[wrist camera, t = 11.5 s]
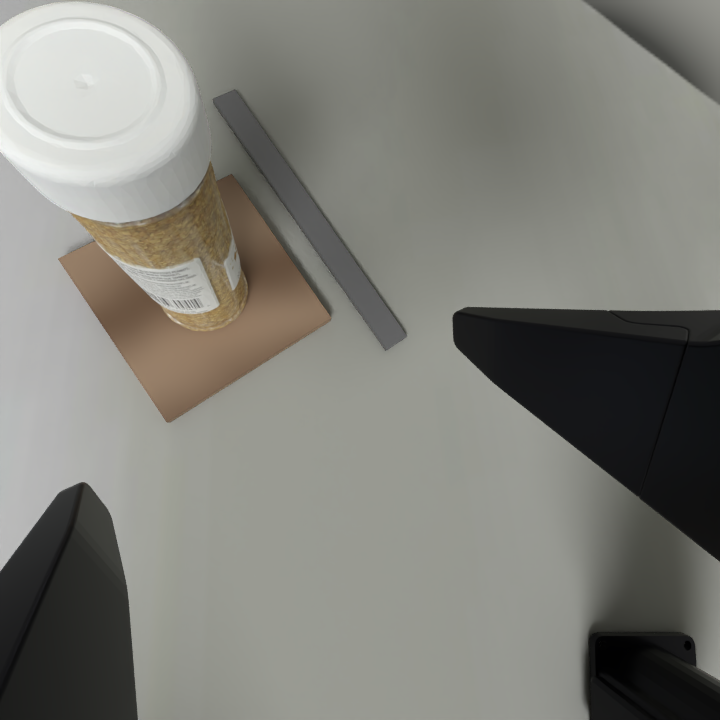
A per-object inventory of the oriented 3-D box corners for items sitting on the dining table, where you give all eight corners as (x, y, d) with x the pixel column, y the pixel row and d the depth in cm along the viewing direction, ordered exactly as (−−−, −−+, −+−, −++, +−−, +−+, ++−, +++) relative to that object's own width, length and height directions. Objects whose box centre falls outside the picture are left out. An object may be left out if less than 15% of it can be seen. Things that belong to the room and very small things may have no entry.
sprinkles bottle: (264, 280, 22) (238, 66, 9) (218, 350, 21) (115, 218, 8) (189, 236, 22) (54, -48, 9) (139, 305, 21) (-99, 95, 8)
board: (330, 321, 23) (331, 318, 23) (170, 422, 21) (166, 422, 20) (233, 180, 24) (231, 173, 23) (64, 263, 21) (58, 258, 21)
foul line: (405, 337, 24) (407, 336, 24) (385, 351, 24) (386, 349, 23) (235, 93, 25) (234, 89, 24) (213, 102, 24) (212, 99, 24)
